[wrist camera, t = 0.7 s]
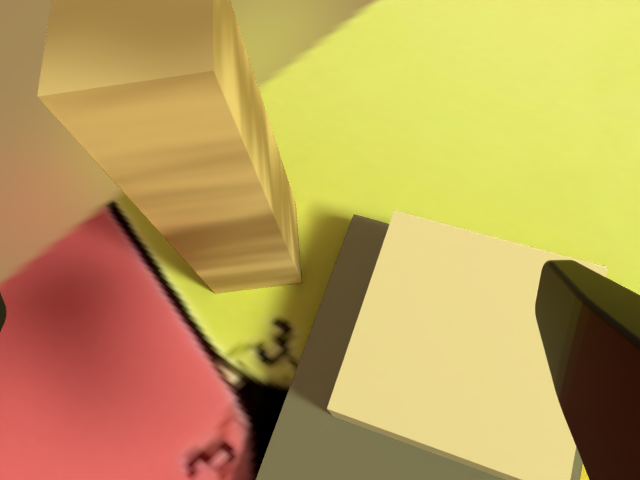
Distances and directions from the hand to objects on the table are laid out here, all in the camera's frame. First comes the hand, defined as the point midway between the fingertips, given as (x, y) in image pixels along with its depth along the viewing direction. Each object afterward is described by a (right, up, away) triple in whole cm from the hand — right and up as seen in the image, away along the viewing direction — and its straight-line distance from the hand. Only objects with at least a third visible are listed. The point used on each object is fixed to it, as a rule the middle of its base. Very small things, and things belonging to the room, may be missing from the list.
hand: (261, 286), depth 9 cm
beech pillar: (-2, 0, +17) cm, 17 cm away
